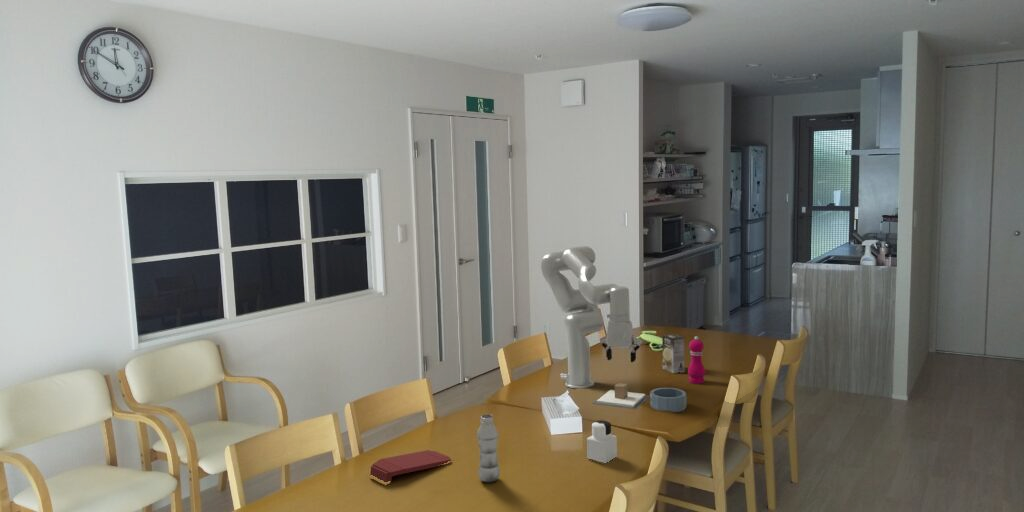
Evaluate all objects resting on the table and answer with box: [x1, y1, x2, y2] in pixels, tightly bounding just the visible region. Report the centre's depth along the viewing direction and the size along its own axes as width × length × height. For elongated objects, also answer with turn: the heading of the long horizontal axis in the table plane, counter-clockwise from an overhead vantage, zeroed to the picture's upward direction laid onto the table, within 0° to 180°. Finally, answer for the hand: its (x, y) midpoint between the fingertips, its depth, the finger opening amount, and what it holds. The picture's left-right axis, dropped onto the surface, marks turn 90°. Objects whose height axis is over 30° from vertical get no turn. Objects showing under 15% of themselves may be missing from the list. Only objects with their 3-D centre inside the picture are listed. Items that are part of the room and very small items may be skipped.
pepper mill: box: [687, 335, 706, 385], centre depth 308 cm, size 7×7×20 cm
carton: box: [369, 449, 452, 482], centre depth 228 cm, size 12×5×25 cm
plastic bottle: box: [476, 413, 501, 483], centre depth 216 cm, size 6×7×20 cm
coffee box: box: [661, 333, 685, 374], centre depth 327 cm, size 9×6×16 cm
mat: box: [591, 390, 650, 410], centre depth 287 cm, size 18×18×1 cm
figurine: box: [636, 330, 663, 352], centre depth 377 cm, size 18×27×6 cm
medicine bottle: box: [586, 419, 618, 464], centre depth 230 cm, size 7×7×12 cm
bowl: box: [649, 387, 687, 413], centre depth 278 cm, size 13×13×6 cm
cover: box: [596, 382, 646, 408], centre depth 287 cm, size 15×15×6 cm
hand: (621, 360), depth 285 cm, fingers open, 9 cm apart
